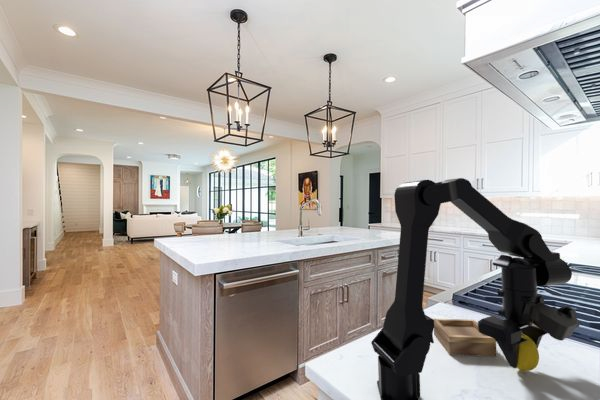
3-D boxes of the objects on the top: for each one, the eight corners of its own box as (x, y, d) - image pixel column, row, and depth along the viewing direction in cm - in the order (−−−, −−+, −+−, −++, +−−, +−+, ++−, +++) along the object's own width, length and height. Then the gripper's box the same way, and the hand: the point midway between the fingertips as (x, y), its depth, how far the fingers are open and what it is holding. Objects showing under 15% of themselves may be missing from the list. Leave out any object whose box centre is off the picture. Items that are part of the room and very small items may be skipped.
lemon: (546, 381, 54) (544, 340, 55) (514, 378, 56) (512, 337, 56) (529, 365, 60) (528, 327, 60) (500, 362, 61) (499, 326, 61)
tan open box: (449, 354, 65) (449, 336, 65) (434, 334, 75) (433, 318, 75) (496, 356, 63) (495, 338, 63) (474, 335, 73) (473, 319, 73)
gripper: (540, 308, 47) (543, 402, 47) (593, 291, 54) (597, 372, 54) (475, 290, 57) (477, 367, 57) (527, 278, 65) (530, 346, 64)
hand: (521, 363), depth 58 cm, fingers closed on lemon, 5 cm apart
